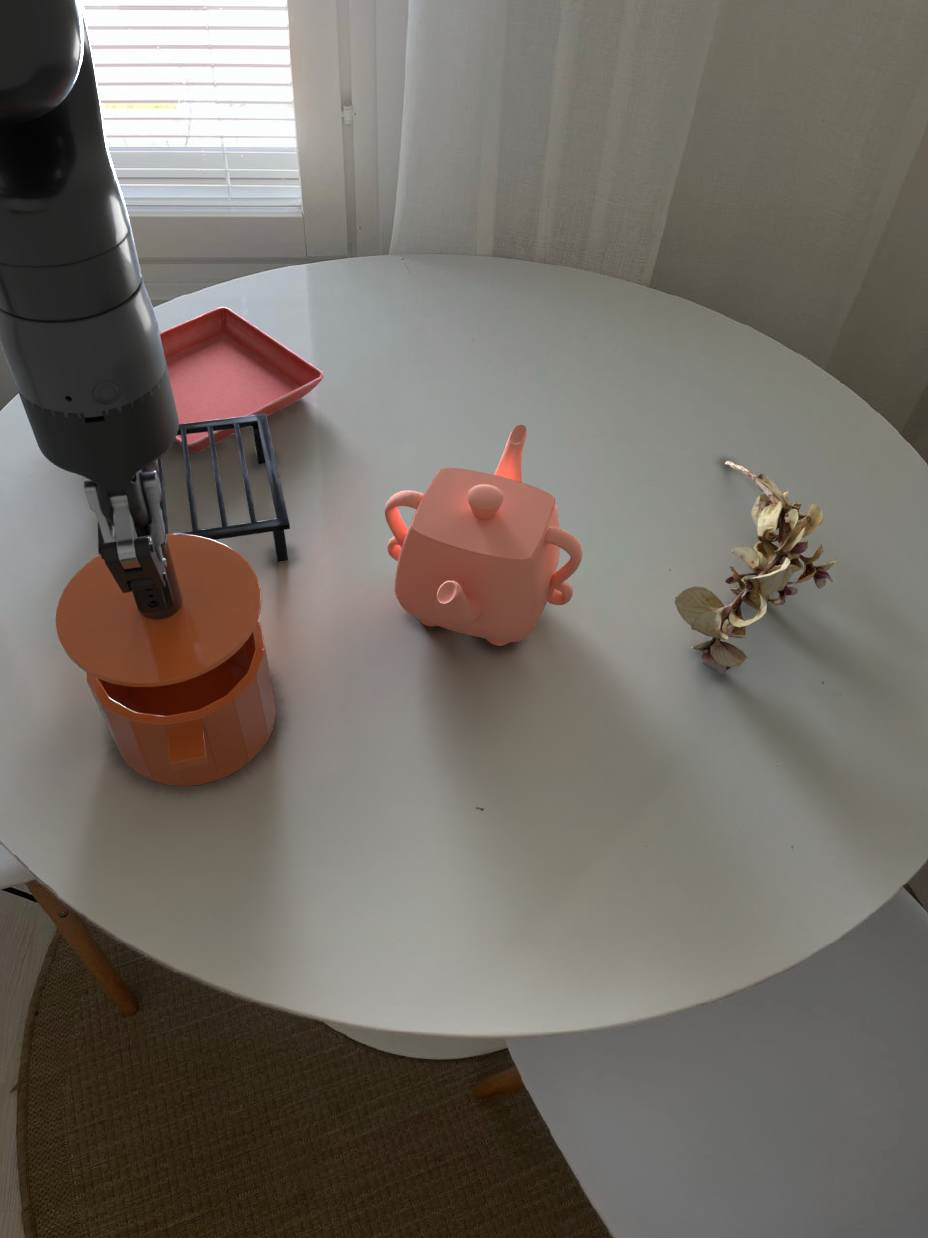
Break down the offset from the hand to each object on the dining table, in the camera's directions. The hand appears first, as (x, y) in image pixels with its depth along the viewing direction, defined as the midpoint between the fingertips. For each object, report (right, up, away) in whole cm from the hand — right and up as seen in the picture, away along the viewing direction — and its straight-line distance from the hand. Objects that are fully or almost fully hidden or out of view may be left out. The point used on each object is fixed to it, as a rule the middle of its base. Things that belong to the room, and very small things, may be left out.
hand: (155, 586), depth 60 cm
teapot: (+21, -1, +22) cm, 30 cm away
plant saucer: (-7, +22, +39) cm, 45 cm away
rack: (-5, +8, +26) cm, 28 cm away
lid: (0, -1, +2) cm, 2 cm away
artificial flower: (+47, +3, +26) cm, 54 cm away
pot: (-1, -10, +12) cm, 15 cm away
